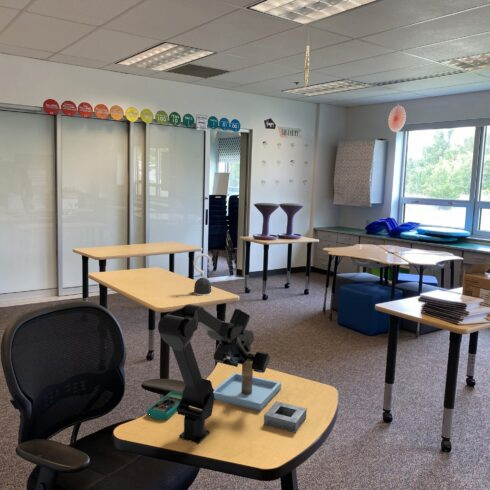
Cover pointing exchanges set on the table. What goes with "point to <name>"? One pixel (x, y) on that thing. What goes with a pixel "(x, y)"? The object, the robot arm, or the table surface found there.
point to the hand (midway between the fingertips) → (249, 368)
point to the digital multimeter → (165, 406)
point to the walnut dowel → (247, 378)
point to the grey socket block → (285, 416)
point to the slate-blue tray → (256, 401)
